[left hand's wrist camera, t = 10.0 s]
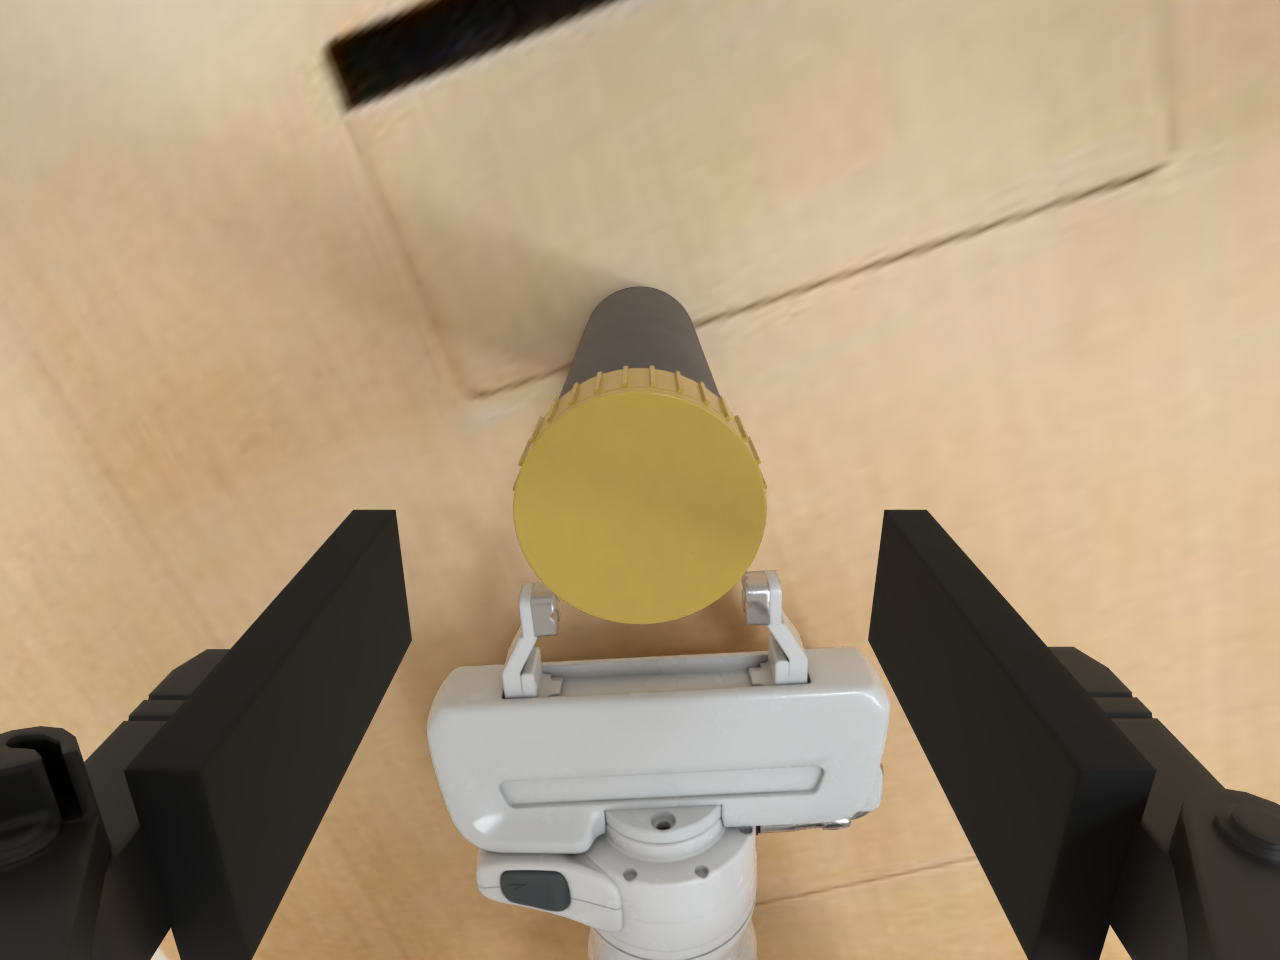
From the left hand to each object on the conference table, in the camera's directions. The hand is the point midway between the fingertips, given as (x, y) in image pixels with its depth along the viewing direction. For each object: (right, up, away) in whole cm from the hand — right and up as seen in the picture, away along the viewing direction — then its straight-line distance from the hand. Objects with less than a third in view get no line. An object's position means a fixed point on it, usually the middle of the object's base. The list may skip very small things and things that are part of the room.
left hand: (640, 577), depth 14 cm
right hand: (0, -3, +18) cm, 18 cm away
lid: (0, +1, +3) cm, 3 cm away
